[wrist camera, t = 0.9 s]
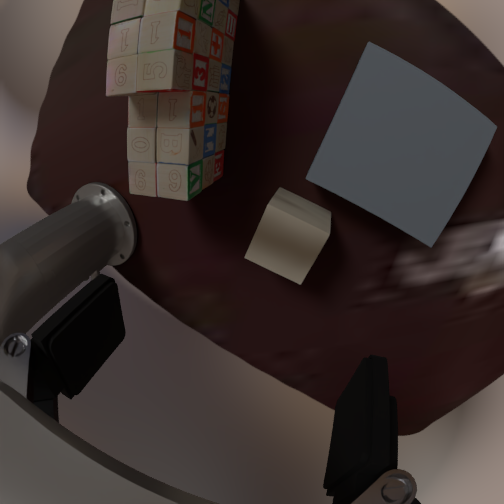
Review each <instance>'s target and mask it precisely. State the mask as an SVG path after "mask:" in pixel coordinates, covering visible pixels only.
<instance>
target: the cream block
mask: <svg viewBox="0 0 504 504" xmlns="http://www.w3.org/2000/svg"><path fill="white" fill-rule="evenodd" d="M330 226H331V212H330V211H328V210H326V209H324V208H322V207H320V206H318V205H316V204H314V203H312V202H310V201H308V200H306V199H304V198H302V197H300V196H298V195H296V194H294V193H292V192H289V191H287V190H285V189H283V188H281V187H279V189H278V190H277V192H276V193H275V195H274V196H273V198H272V199H271V200H270V202H269V203H268V205H267V207H266V210H265V212H264V214H263V217H262V219H261V221H260V223H259V226H258V228H257V230H256V232H255V235H254V237H253V239H252V242H251V244H250V246H249V248H248V251H247V253H246V255H245V257H244V258H246V259H248V260H250V261H252V262H254V263H256V264H258V265H260V266H263V267H265V268H267V269H269V270H271V271H273V272H275V273H277V274H279V275H281V276H283V277H285V278H287V279H290V280H292V281H294V282H296V283H298V284H300V285H301V283H302V282H303V280H304V278H305V277H306V275H307V273H308V271H309V270H310V268H311V266H312V265H313V263H314V261H315V260H316V258H317V256H318V254H319V253H320V251H321V249H322V247H323V246H324V244H325V242H326V240H327V239H328V237H329V235H330Z"/></svg>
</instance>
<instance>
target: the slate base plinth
mask: <svg viewBox="0 0 504 504" xmlns="http://www.w3.org/2000/svg"><path fill="white" fill-rule="evenodd" d="M496 128H497V126H496V125H495V124H493V123H492V122H491V121H490V120H489V119H488V118H487V117H485V116H484V115H483V114H482V113H480V112H479V111H478V110H477V109H476V108H474V107H473V106H472V105H470V104H469V103H468V102H467V101H465V100H464V99H463V98H461V97H460V96H459V95H457V94H456V93H455V92H453V91H452V90H450V89H449V88H447V87H446V86H445V85H443V84H442V83H440V82H439V81H437V80H436V79H434V78H433V77H431V76H430V75H428V74H426V73H425V72H423V71H422V70H420V69H418V68H417V67H415V66H413V65H412V64H410V63H408V62H407V61H405V60H403V59H401V58H399V57H398V56H396V55H394V54H392V53H390V52H388V51H386V50H385V49H383V48H381V47H379V46H377V45H375V44H373V43H371V42H368V44H367V46H366V48H365V49H364V52H363V54H362V56H361V58H360V61H359V63H358V65H357V67H356V69H355V72H354V74H353V76H352V78H351V80H350V83H349V85H348V87H347V89H346V91H345V94H344V96H343V98H342V100H341V102H340V105H339V107H338V109H337V111H336V113H335V115H334V118H333V120H332V122H331V124H330V126H329V128H328V131H327V133H326V135H325V137H324V139H323V141H322V143H321V146H320V148H319V150H318V152H317V154H316V156H315V158H314V161H313V163H312V165H311V167H310V169H309V171H308V174H307V176H306V179H307V180H309V181H311V182H313V183H315V184H317V185H319V186H321V187H323V188H325V189H327V190H329V191H331V192H333V193H335V194H337V195H339V196H341V197H343V198H345V199H347V200H349V201H350V202H352V203H354V204H356V205H358V206H360V207H362V208H364V209H365V210H367V211H369V212H371V213H373V214H375V215H376V216H378V217H380V218H382V219H384V220H385V221H387V222H389V223H391V224H392V225H394V226H396V227H398V228H399V229H401V230H403V231H404V232H406V233H408V234H409V235H411V236H413V237H415V238H416V239H418V240H419V241H421V242H423V243H424V244H426V245H428V246H429V247H432V246H433V244H434V243H435V241H436V240H437V238H438V237H439V235H440V234H441V232H442V230H443V229H444V227H445V226H446V224H447V222H448V221H449V219H450V217H451V216H452V214H453V212H454V211H455V209H456V207H457V206H458V204H459V202H460V200H461V199H462V197H463V195H464V193H465V192H466V190H467V188H468V186H469V184H470V182H471V180H472V179H473V177H474V175H475V173H476V171H477V169H478V167H479V165H480V163H481V161H482V159H483V157H484V155H485V153H486V151H487V148H488V146H489V144H490V142H491V140H492V137H493V135H494V133H495V131H496Z"/></svg>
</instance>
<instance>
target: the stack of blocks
mask: <svg viewBox="0 0 504 504" xmlns="http://www.w3.org/2000/svg"><path fill="white" fill-rule="evenodd" d="M239 2H240V0H114V2H113V8H112V15H111V24H112V26H111V27H110V32H109V42H108V54H107V58H108V62H107V78H106V97H107V96H129V99H128V129H127V156H128V162H129V164H128V166H129V191H130V194H138V195H146V196H152V197H164V198H170V199H178V200H185V201H188V200H190V199H191V198H193V197H194V196H196V195H197V194H199V193H200V192H201V191H202V190H203V189H204V188H206V187H208V186H209V185H211V184H212V183H213V182H214V181H216V180H218V179H219V178H221V177H222V176H223V164H224V149H225V145H226V131H227V119H228V108H229V89H230V77H231V65H232V55H233V45H234V40H235V33H236V24H237V15H238V10H239Z"/></svg>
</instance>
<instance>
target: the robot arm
mask: <svg viewBox="0 0 504 504" xmlns="http://www.w3.org/2000/svg"><path fill="white" fill-rule="evenodd" d="M136 243H137V228H136V223H135V219H134V216H133V214H132V211H131V209H130V207H129V206H128V204H127V202H126V201H125V199H124V198H123V197H122V196H121V195H120V194H119V193H118V192H117V191H116V190H115V189H113V188H112V187H110V186H108V185H107V184H103V183H99V182H93V183H89V184H87V185H85V186H83V187H81V188H80V189H79V190H78V191H77V192H76V193H75V195H74V198H73V200H72V204H70V205H68V206H66V207H65V208H63V209H61V210H59V211H57V212H55V213H53V214H51V215H50V216H48V217H46V218H44V219H42V220H41V221H39V222H37V223H35V224H33V225H32V226H30V227H29V228H27V229H25V230H23V231H21V232H20V233H18V234H17V235H15V236H13V237H12V238H10V239H8V240H7V241H5V242H4V243H2V244H1V245H0V504H218V503H215V502H212V501H209V500H206V499H203V498H201V497H198V496H195V495H192V494H190V493H187V492H184V491H182V490H179V489H177V488H174V487H172V486H170V485H167V484H165V483H163V482H160V481H158V480H156V479H154V478H152V477H149V476H147V475H145V474H143V473H141V472H139V471H137V470H135V469H133V468H131V467H129V466H127V465H125V464H124V463H122V462H120V461H118V460H116V459H114V458H113V457H111V456H109V455H107V454H106V453H104V452H102V451H100V450H99V449H97V448H96V447H94V446H92V445H91V444H89V443H87V442H86V441H84V440H83V439H81V438H80V437H78V436H77V435H75V434H74V433H72V432H71V431H69V430H68V429H66V428H65V427H64V426H62V425H61V424H59V417H58V394H59V393H60V392H61V393H62V394H63V395H65V396H66V397H68V398H70V399H72V398H73V397H74V395H78V394H79V393H80V392H81V391H82V390H83V388H84V387H85V386H86V384H87V383H88V382H89V381H90V380H91V378H92V377H93V376H94V374H95V373H96V372H97V371H98V370H99V368H100V367H101V366H102V365H103V364H104V362H105V361H106V360H107V359H108V357H109V356H110V355H111V354H112V353H113V351H114V350H115V349H116V348H117V347H118V345H119V344H120V343H121V342H122V341H123V339H124V337H125V327H124V322H123V316H122V311H121V305H120V299H119V293H118V286H117V284H116V283H115V280H114V279H113V278H111V277H108V276H106V275H103V274H100V272H99V271H100V270H101V269H102V268H103V267H105V266H106V265H111V266H115V265H119V264H122V263H123V262H125V261H126V260H127V259H128V258H130V257H131V255H132V254H133V252H134V250H135V247H136ZM89 276H91V279H92V281H90V282H89V283H88V284H87V285H86V286H85V287H83V288H82V289H81V290H80V291H79V292H78V293H77V294H75V295H74V296H73V297H72V298H71V299H70V300H68V302H66V303H65V304H64V305H63V306H62V307H61V308H59V309H58V310H57V311H56V312H55V313H54V314H53V315H52V316H51V317H50V318H48V319H47V320H46V321H45V322H44V323H43V324H42V325H41V326H40V327H39V328H38V329H37V330H36V331H35V332H33V333H32V337H33V338H32V339H31V340H30V338H29V337H28V336H27V335H26V333H27V332H28V331H29V330H30V329H31V328H32V327H33V326H34V325H35V324H36V323H37V322H38V321H39V320H40V319H41V318H42V317H43V316H45V315H46V314H47V313H48V312H49V311H50V310H51V309H52V308H53V307H54V306H56V305H57V304H58V303H59V302H60V301H61V300H62V299H64V298H65V297H66V296H67V295H68V294H69V293H70V292H72V291H73V290H74V289H75V288H76V287H77V286H79V285H80V284H81V283H82V282H83V281H86V280H88V279H89ZM397 459H398V422H397V402H396V398H395V397H393V396H389V380H388V364H387V359H386V358H385V357H380V356H375V355H370V356H369V357H368V358H363V360H362V361H361V363H360V365H359V367H358V368H357V370H356V372H355V373H354V375H353V377H352V378H351V380H350V382H349V383H348V385H347V386H346V388H345V390H344V391H343V393H342V394H341V396H340V398H339V399H338V401H337V404H336V407H335V415H334V422H333V430H332V437H331V443H330V450H329V456H328V462H327V467H326V473H325V478H324V484H323V487H324V489H327V493H326V495H327V496H334V498H333V503H332V504H421V503H420V502H419V501H418V500H417V499H416V498H415V495H416V492H417V485H416V482H415V479H414V478H413V477H412V475H411V474H410V473H408V472H406V471H404V470H400V469H397V465H398V460H397Z"/></svg>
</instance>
